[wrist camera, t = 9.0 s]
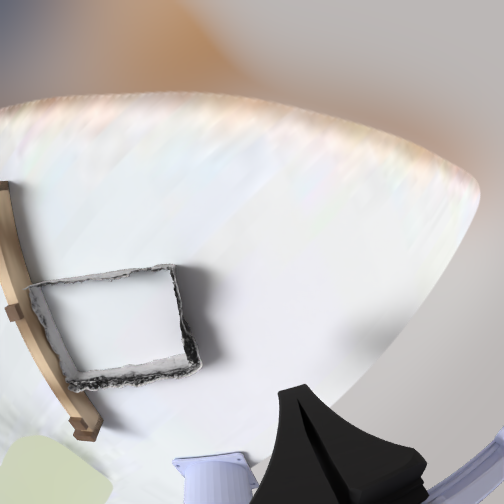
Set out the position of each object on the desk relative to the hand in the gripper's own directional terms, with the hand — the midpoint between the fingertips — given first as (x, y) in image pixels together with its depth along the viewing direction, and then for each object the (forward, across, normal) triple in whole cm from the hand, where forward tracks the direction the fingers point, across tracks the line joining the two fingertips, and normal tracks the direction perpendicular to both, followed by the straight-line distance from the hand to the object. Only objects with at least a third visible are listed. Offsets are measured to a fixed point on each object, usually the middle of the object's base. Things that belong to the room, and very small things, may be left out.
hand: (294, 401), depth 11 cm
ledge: (+8, +19, -4) cm, 21 cm away
